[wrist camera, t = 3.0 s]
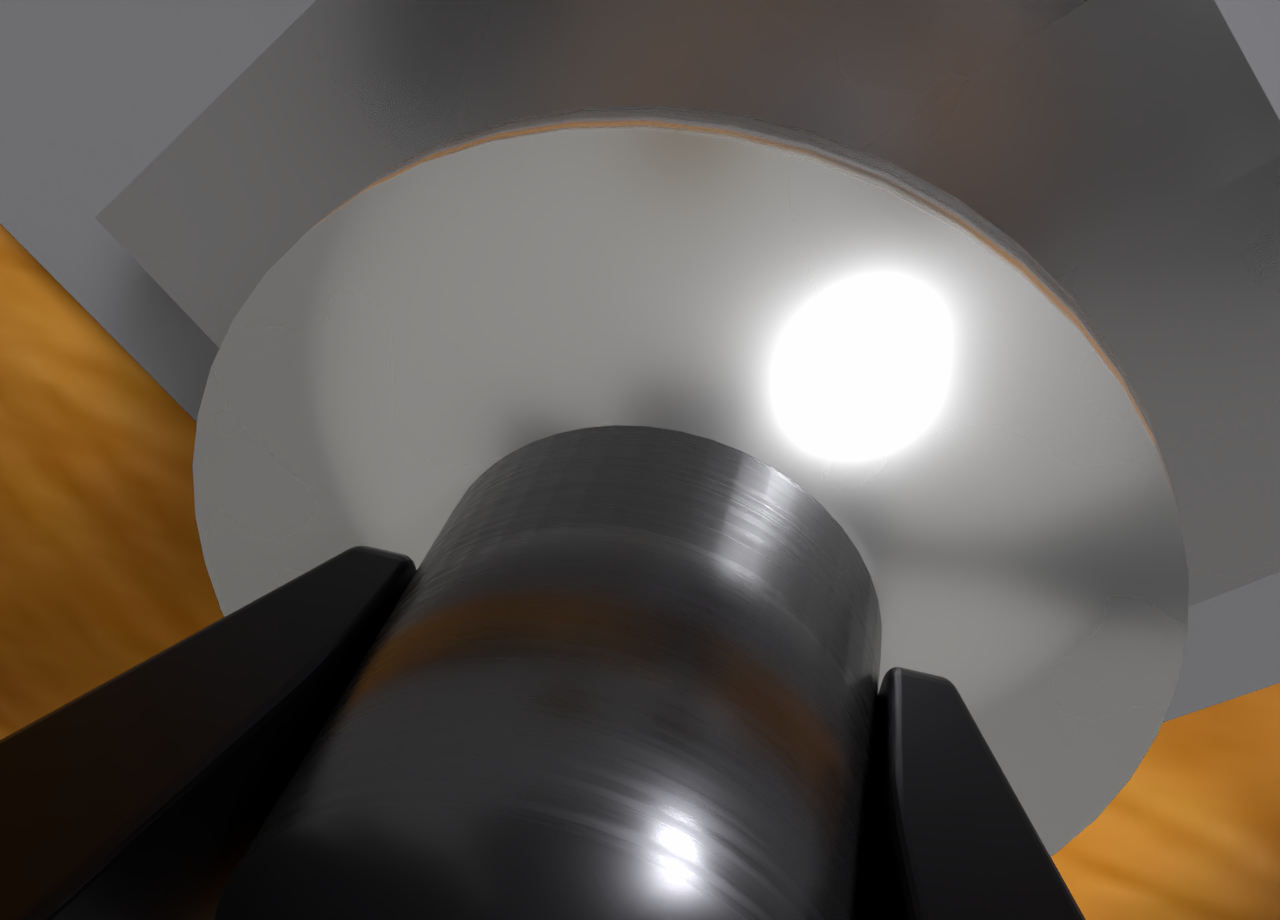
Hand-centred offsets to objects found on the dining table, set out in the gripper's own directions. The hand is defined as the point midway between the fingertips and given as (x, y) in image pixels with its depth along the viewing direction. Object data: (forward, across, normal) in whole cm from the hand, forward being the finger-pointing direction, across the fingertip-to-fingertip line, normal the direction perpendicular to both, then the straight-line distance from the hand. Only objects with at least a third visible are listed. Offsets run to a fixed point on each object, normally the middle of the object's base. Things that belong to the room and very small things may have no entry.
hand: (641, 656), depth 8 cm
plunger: (+6, 0, 0) cm, 6 cm away
